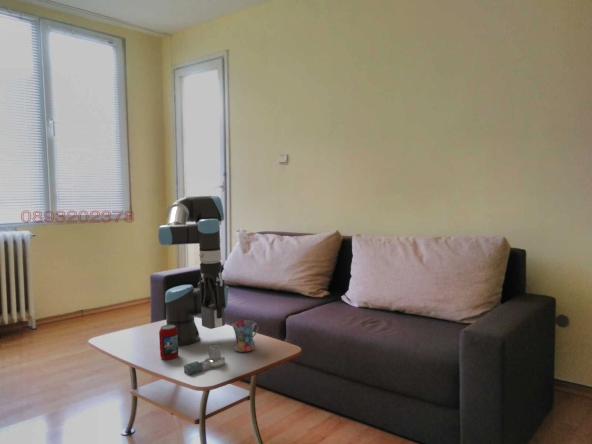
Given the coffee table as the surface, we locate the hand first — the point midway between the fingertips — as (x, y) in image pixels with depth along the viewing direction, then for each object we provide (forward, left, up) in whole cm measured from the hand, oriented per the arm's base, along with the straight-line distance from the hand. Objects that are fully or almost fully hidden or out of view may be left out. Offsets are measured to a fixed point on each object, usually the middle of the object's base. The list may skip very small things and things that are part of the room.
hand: (213, 324), depth 163 cm
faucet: (0, -4, -15) cm, 15 cm away
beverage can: (-20, -8, -15) cm, 26 cm away
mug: (-5, +18, -15) cm, 24 cm away
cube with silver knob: (0, 0, 0) cm, 0 cm away
